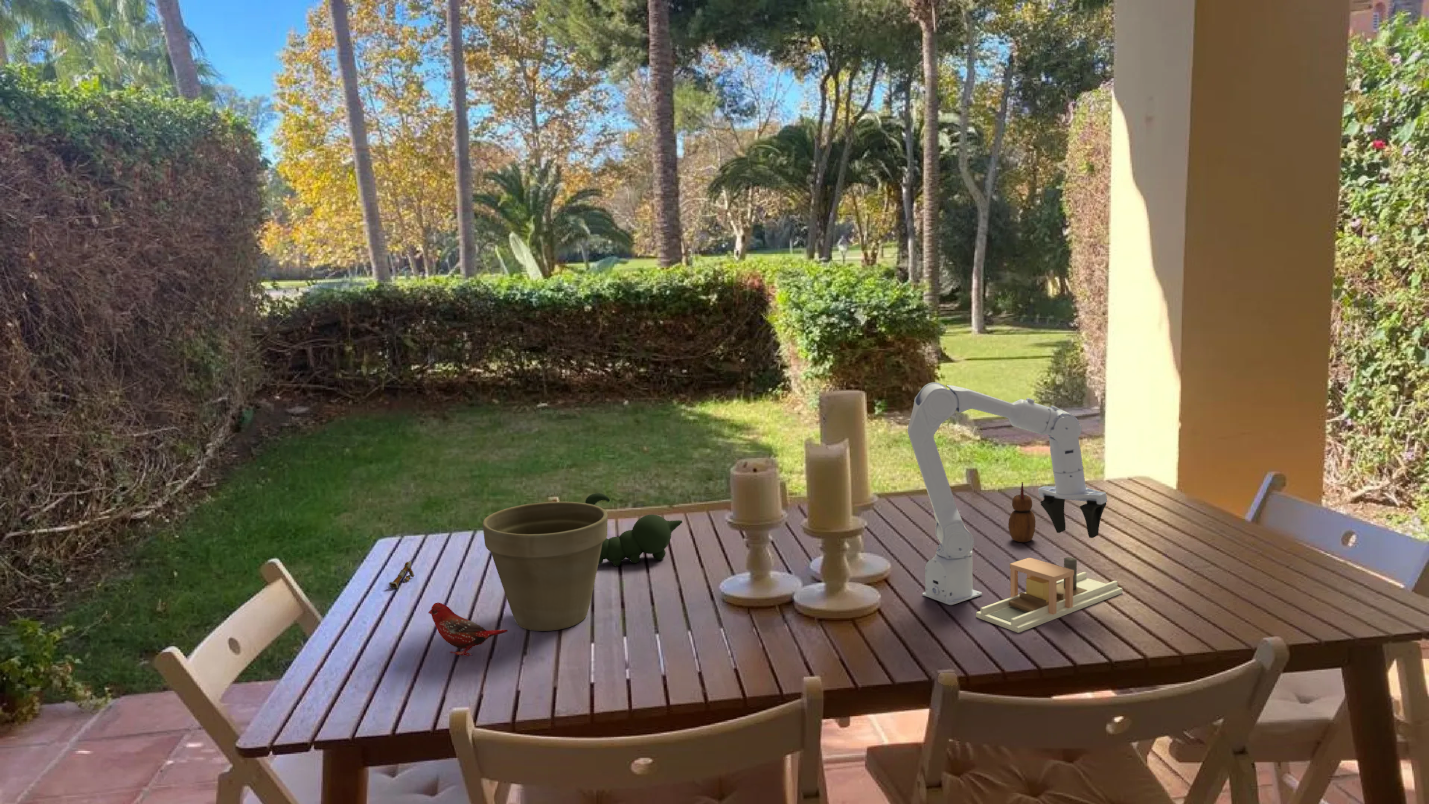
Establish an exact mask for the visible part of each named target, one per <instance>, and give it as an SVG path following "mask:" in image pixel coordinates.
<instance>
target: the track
mask: <svg viewBox="0 0 1429 804" xmlns="http://www.w3.org/2000/svg"><path fill="white" fill-rule="evenodd" d="M1009 569H1010V570H1009V571H1010V572H1009V573H1010V576H1009V577H1010V594H1009V595H1010V597H1009V598H1005V599H1002V600H999V601H997V602H994V603H991V604H988V605H986V606H981V607H980V611H976V612H975V613H976V614H975V617H976V618H978V619H980V620H983V621H986V622H988V623H991V624H994V625H996V626H999V627H1001V628H1004V629H1006V630H1007V629H1008V630H1009V631H1012V632H1014V633H1018V634H1019V633H1022V632H1025V631H1028V630H1029V629H1032V628H1035V627H1038V626H1040V625H1042V624H1045V623H1048V622H1050V621H1053V620H1056V619H1058V618H1061V617H1064V616H1066V615H1068V614H1071V613H1073V612H1077V611H1079V610H1082V609H1085V608H1087V607H1089V606H1092V605H1095V604H1097V603H1099V602H1103V601H1105V600H1108V599H1110V598H1114V597H1116V596H1118V595H1121V594H1123V588H1122V587H1119V586H1118V584H1119V583H1118V582H1119V581H1117V580H1112V581H1110V582H1108V583H1104V582H1102V581H1098V580H1095V579H1091V578H1088V577H1087V572H1086V571H1083V572H1080V573H1077V587H1079V588H1082V589H1086V590H1087V591H1085V592H1083V593H1080V594H1077V595H1074V596H1073V575H1074V570H1071V569H1068V568H1064V566H1060V565H1057V564H1053V563H1050V562H1047V561H1043V560H1040V559H1036V558H1032V557H1027V558H1024V559H1020V560H1017V561H1014V562H1011V563H1009ZM1019 572H1020V573H1023V574H1026V578H1029V577H1032V576H1035V577H1039V578H1042V579H1045V580H1049V605H1047V606H1045V607H1042V608H1039V609H1036V610H1034V611H1031V612H1027V611H1024V610H1021V609H1018V608H1015V607H1013V606H1010V605H1009V601H1012V600H1014V599H1017V598H1019V575H1018V574H1019ZM1064 579H1065V599H1064V600H1061V601H1058V602H1056V601H1057V584H1060V583H1064ZM1024 593H1026V591H1025V592H1024Z"/></svg>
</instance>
